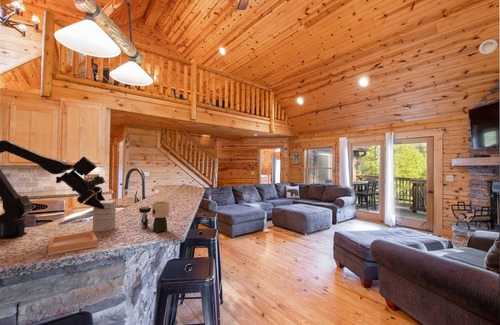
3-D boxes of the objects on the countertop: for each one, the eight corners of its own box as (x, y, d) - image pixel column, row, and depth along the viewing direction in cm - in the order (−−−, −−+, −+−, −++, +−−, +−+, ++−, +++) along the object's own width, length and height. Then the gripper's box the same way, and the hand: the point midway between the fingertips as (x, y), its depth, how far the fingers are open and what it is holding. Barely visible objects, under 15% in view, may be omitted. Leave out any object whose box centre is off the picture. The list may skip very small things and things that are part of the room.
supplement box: (97, 227, 106) (98, 200, 106) (115, 226, 108) (116, 200, 108) (91, 231, 98) (92, 203, 99) (110, 230, 101) (111, 202, 101)
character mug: (151, 228, 105) (152, 201, 106) (167, 227, 108) (168, 200, 108) (151, 235, 95) (152, 204, 96) (169, 233, 98) (170, 204, 99)
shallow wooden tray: (48, 255, 73) (48, 247, 73) (48, 243, 83) (49, 237, 83) (97, 246, 82) (97, 239, 82) (92, 236, 92) (93, 230, 92)
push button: (149, 229, 104) (150, 207, 105) (136, 229, 103) (137, 208, 103) (150, 225, 111) (151, 205, 111) (139, 226, 109) (139, 205, 109)
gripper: (87, 170, 93) (117, 196, 97) (97, 169, 110) (122, 191, 114) (63, 190, 90) (95, 216, 94) (77, 186, 107) (103, 207, 111)
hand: (105, 206), depth 103 cm, fingers open, 9 cm apart
